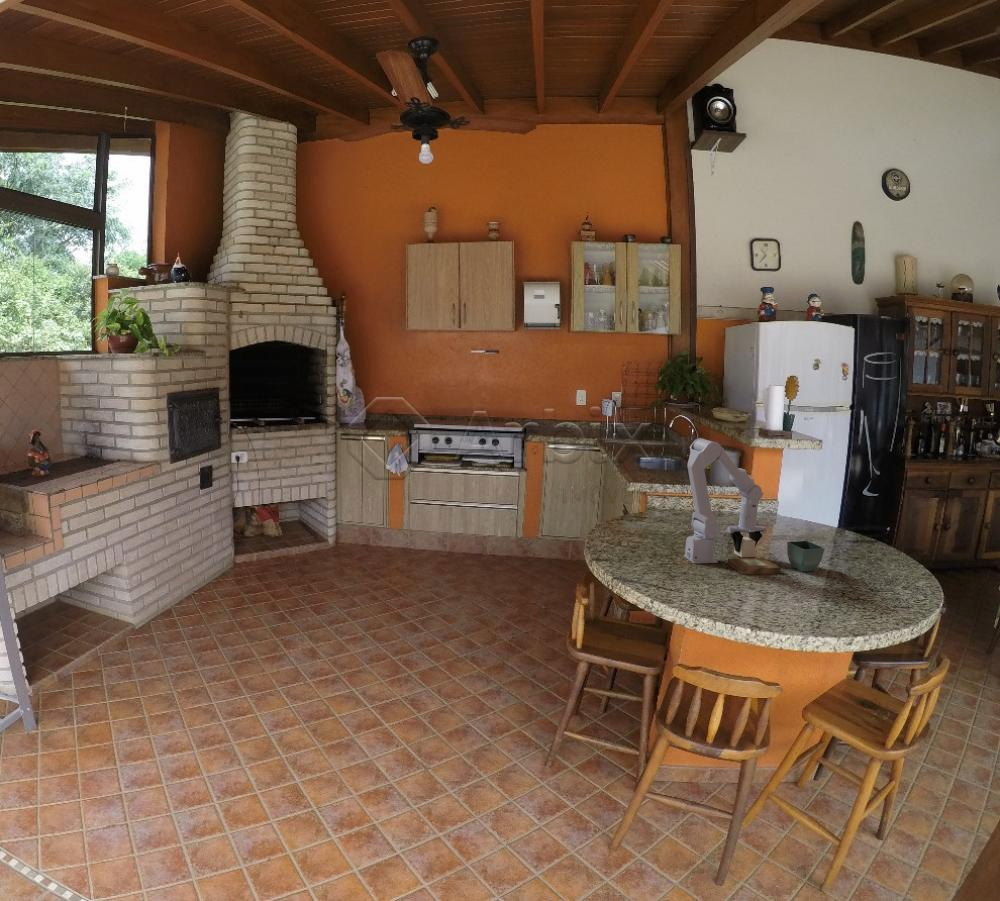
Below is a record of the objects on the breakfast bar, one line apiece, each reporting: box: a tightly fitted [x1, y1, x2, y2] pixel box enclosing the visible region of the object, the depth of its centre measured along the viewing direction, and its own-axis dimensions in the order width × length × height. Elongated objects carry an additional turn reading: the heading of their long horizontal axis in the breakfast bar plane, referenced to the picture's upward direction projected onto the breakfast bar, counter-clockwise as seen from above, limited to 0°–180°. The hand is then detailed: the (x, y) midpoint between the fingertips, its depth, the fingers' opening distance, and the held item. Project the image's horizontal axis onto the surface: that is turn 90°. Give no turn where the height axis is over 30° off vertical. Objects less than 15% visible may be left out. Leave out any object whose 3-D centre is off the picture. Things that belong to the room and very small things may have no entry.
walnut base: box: [726, 557, 781, 575], centre depth 221 cm, size 14×10×2 cm
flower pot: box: [786, 540, 826, 573], centre depth 222 cm, size 9×9×9 cm
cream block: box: [733, 536, 756, 558], centre depth 231 cm, size 5×5×6 cm
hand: (744, 551), depth 232 cm, fingers closed on cream block, 5 cm apart
